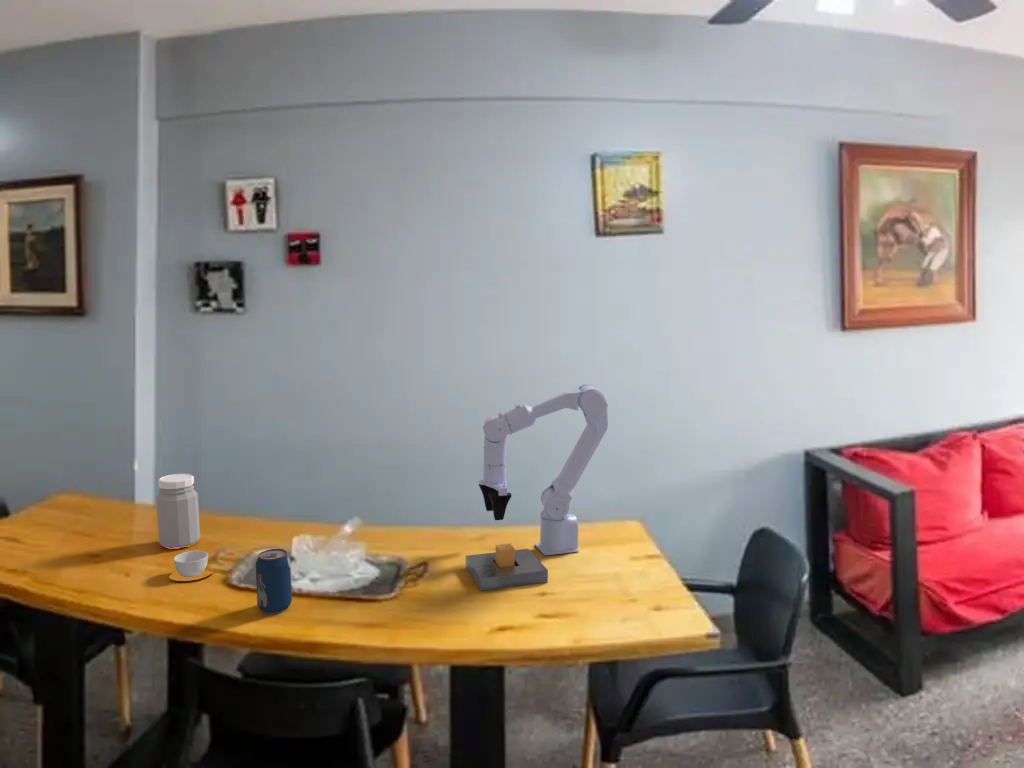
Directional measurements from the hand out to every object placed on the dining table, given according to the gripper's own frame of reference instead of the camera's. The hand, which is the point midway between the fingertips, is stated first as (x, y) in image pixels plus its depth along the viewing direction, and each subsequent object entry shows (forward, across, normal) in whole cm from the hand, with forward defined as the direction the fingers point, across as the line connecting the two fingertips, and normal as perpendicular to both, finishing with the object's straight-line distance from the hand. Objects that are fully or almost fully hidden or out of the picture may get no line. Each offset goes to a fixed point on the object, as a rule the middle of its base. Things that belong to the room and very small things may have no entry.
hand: (494, 515), depth 182 cm
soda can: (+10, +18, -54) cm, 58 cm away
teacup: (+10, -6, -73) cm, 74 cm away
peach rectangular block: (+9, +16, -2) cm, 19 cm away
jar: (+10, -28, -78) cm, 83 cm away
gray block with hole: (+9, +16, -2) cm, 19 cm away
